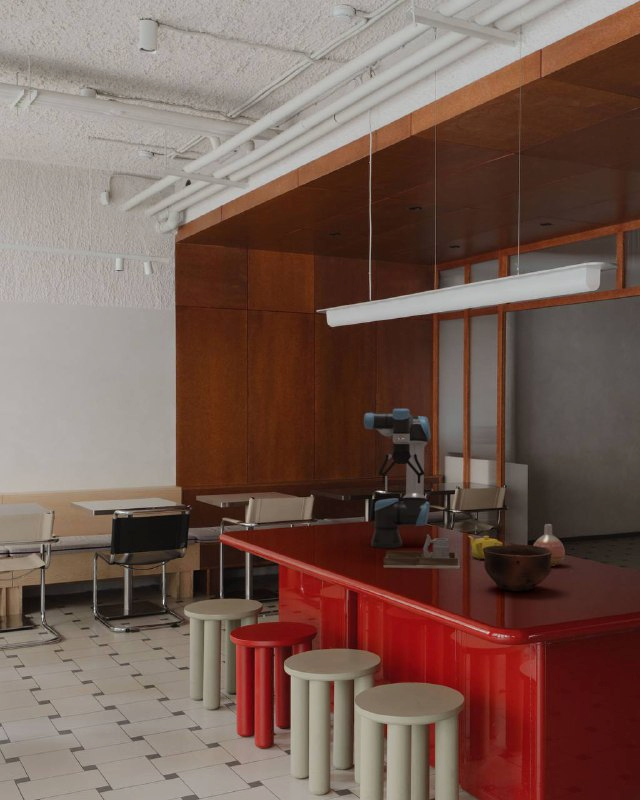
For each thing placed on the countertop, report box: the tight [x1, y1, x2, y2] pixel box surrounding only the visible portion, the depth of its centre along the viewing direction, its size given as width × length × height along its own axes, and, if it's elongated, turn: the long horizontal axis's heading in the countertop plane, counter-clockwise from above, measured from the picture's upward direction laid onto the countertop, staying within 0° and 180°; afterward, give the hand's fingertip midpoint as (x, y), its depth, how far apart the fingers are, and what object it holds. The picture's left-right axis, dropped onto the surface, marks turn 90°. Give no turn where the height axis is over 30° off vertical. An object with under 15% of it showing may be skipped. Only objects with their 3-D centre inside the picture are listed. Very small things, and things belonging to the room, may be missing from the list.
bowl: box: [483, 543, 552, 592], centre depth 335 cm, size 25×25×15 cm
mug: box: [422, 534, 450, 558], centre depth 391 cm, size 8×12×12 cm, turn 102°
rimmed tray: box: [383, 550, 461, 570], centre depth 392 cm, size 20×32×4 cm, turn 83°
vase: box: [532, 523, 566, 566], centre depth 387 cm, size 14×14×18 cm
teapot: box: [467, 535, 503, 560], centre depth 406 cm, size 14×13×10 cm
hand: (401, 490), depth 402 cm, fingers open, 13 cm apart
